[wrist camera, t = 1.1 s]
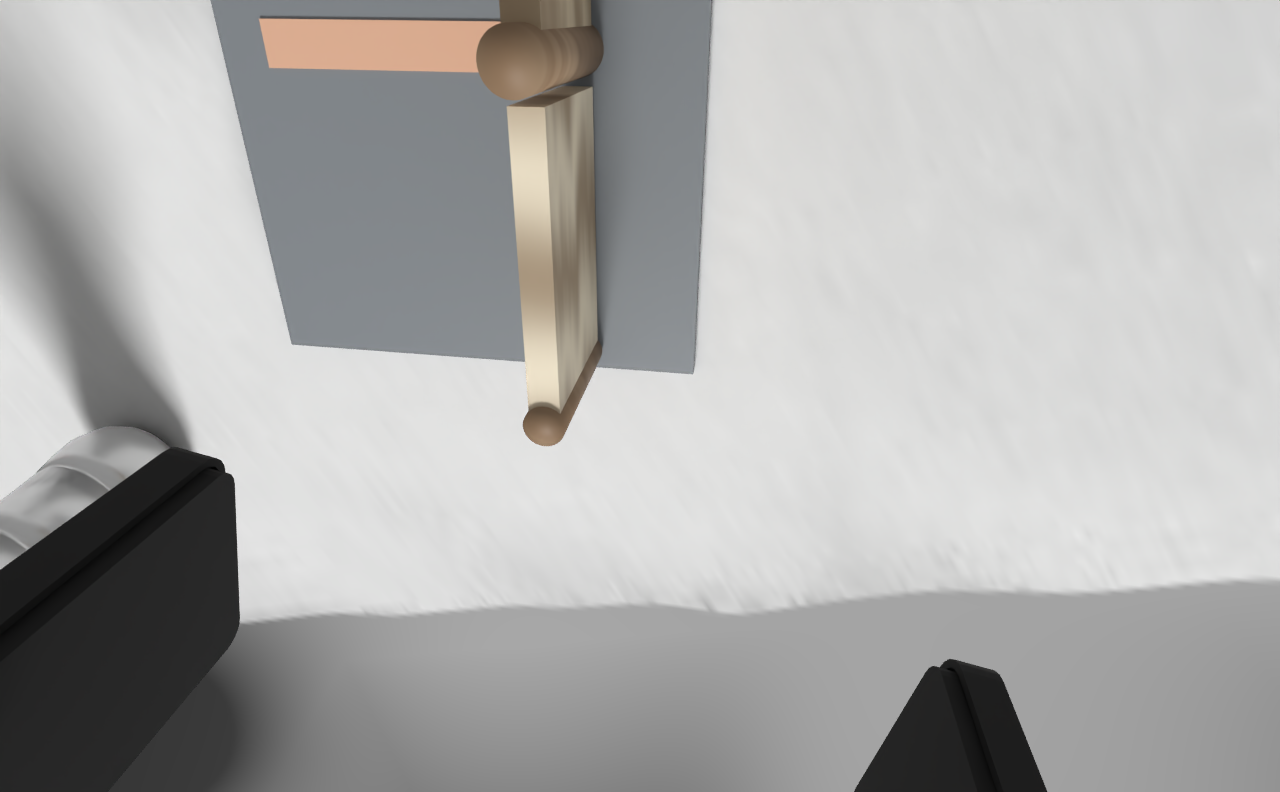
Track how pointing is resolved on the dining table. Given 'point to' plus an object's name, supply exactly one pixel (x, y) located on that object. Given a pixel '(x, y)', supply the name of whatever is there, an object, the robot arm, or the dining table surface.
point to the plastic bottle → (71, 484)
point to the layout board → (462, 173)
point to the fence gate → (555, 252)
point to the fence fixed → (538, 47)
